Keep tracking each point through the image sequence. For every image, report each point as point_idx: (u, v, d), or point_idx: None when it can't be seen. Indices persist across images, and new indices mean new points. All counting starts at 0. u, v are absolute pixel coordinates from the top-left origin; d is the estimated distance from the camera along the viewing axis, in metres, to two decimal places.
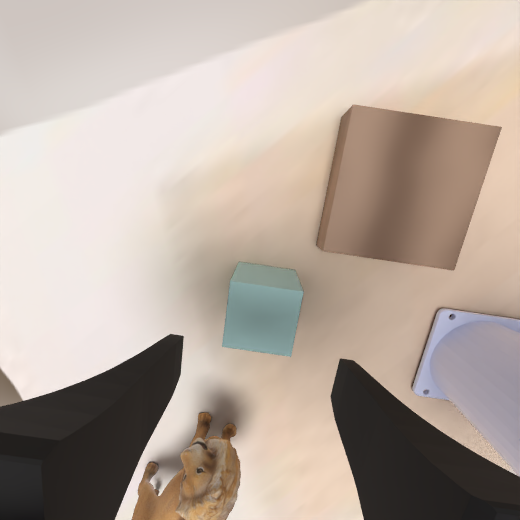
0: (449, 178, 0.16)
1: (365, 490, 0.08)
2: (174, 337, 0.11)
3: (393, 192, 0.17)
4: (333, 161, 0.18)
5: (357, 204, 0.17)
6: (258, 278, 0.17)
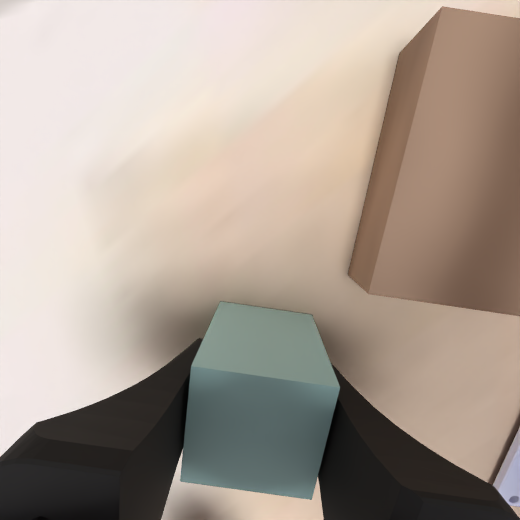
0: None
1: (325, 484, 0.08)
2: None
3: (508, 186, 0.09)
4: (382, 133, 0.11)
5: (437, 210, 0.09)
6: (249, 348, 0.09)
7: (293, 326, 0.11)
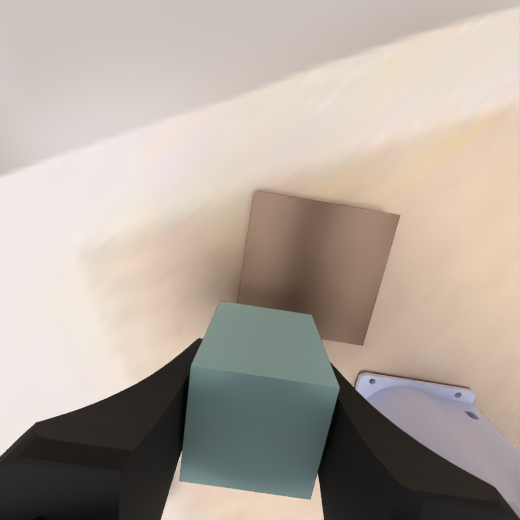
0: (352, 260, 0.16)
1: (325, 484, 0.08)
2: None
3: (299, 272, 0.17)
4: None
5: (264, 282, 0.17)
6: (249, 348, 0.09)
7: (293, 326, 0.11)
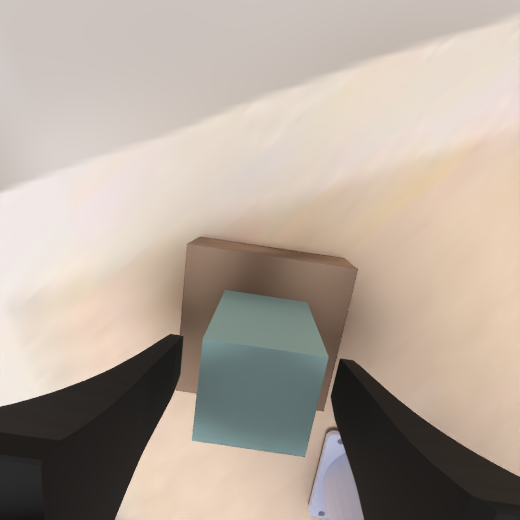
0: None
1: (365, 490, 0.08)
2: (174, 337, 0.11)
3: None
4: None
5: None
6: (251, 327, 0.10)
7: (290, 311, 0.13)
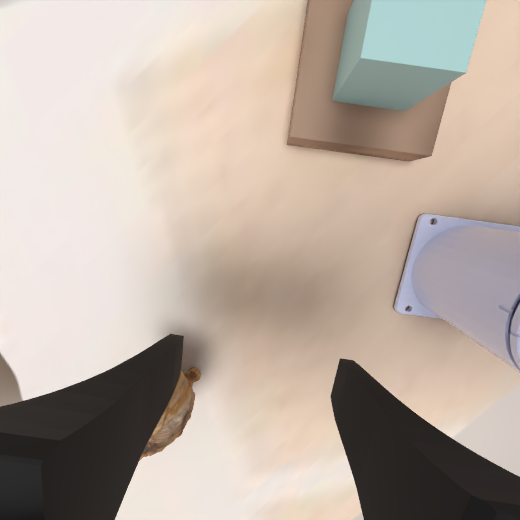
0: None
1: (365, 490, 0.08)
2: (174, 337, 0.11)
3: None
4: (301, 46, 0.17)
5: (325, 80, 0.16)
6: None
7: None
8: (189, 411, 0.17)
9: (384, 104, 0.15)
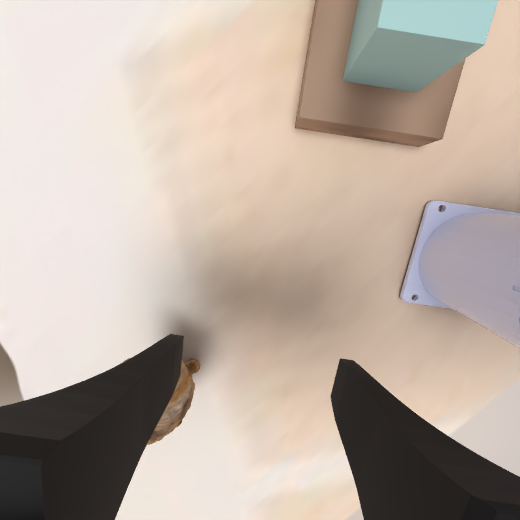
0: None
1: (365, 490, 0.08)
2: (174, 337, 0.11)
3: None
4: (311, 26, 0.17)
5: (336, 59, 0.15)
6: None
7: None
8: (189, 400, 0.17)
9: (396, 84, 0.15)
